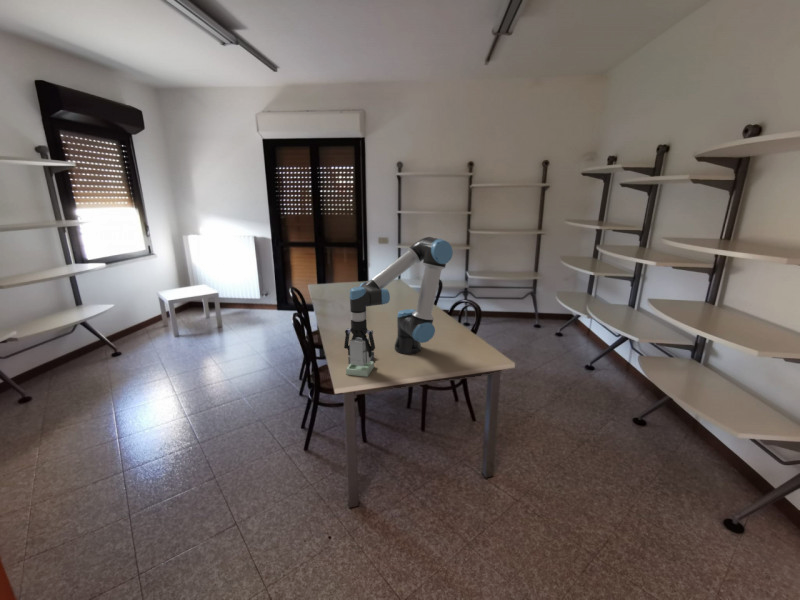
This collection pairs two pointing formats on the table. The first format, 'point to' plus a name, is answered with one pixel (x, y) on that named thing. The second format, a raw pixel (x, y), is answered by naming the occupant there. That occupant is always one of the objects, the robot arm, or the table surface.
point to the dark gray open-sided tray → (370, 358)
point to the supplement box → (358, 352)
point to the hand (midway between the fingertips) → (360, 362)
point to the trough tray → (360, 369)
